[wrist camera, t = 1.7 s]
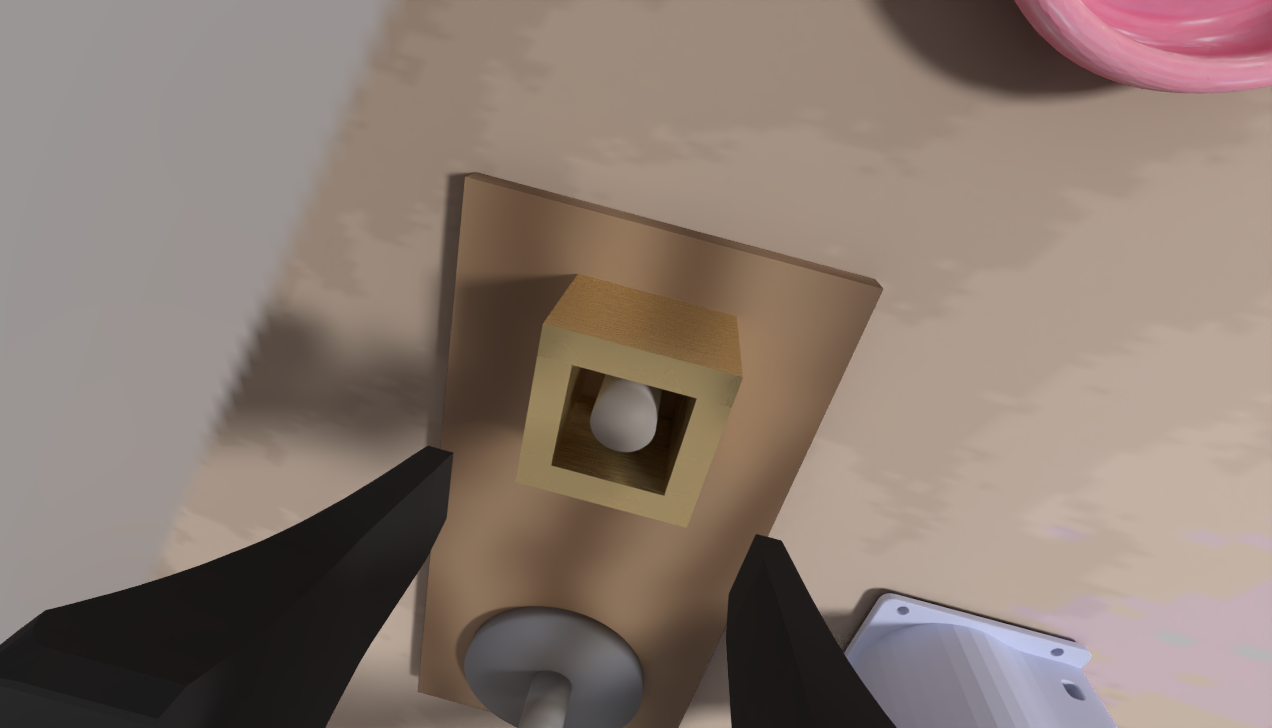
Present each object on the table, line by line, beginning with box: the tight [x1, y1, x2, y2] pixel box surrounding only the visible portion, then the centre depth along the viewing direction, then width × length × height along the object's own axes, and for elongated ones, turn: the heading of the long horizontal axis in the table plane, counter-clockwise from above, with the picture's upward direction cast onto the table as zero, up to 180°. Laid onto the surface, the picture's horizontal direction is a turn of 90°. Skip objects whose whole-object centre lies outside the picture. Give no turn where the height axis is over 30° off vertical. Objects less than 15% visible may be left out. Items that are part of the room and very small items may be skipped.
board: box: [418, 172, 883, 728], centre depth 23 cm, size 14×28×5 cm, turn 167°
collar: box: [515, 274, 743, 528], centre depth 19 cm, size 6×6×4 cm
